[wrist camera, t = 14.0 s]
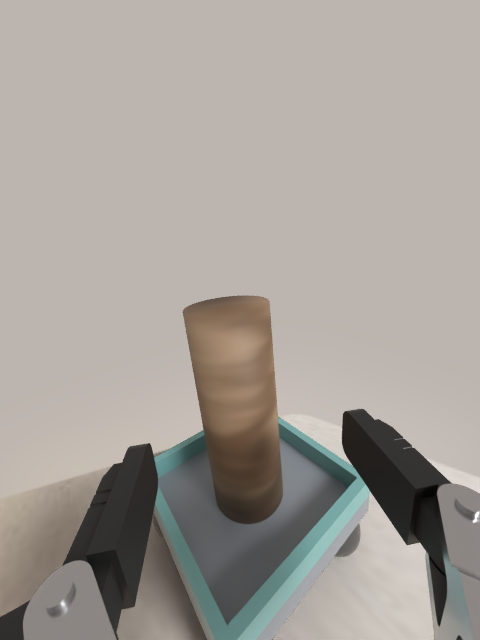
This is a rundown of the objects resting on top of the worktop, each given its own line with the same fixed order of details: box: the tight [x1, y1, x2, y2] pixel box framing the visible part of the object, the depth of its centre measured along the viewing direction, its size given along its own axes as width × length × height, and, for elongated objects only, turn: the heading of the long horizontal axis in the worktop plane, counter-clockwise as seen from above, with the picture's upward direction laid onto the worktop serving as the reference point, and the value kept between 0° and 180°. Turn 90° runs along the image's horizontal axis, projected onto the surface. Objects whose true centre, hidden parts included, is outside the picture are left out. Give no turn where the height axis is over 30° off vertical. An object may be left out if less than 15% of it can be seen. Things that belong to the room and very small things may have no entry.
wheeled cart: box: [153, 417, 370, 640], centre depth 19 cm, size 12×12×6 cm
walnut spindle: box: [183, 296, 283, 524], centre depth 16 cm, size 5×5×14 cm
